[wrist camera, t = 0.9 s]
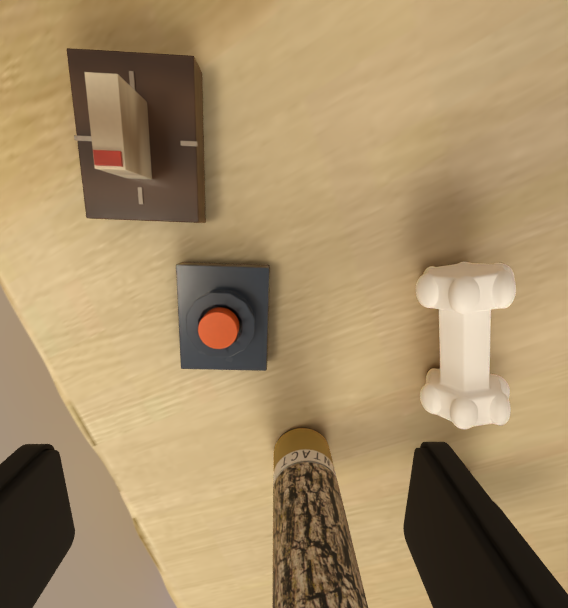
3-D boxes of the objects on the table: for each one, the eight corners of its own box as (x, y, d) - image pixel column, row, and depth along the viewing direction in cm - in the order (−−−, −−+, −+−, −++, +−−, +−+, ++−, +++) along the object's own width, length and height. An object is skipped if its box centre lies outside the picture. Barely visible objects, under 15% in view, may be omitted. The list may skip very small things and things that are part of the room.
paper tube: (323, 473, 39) (402, 879, 15) (270, 469, 39) (262, 878, 15) (333, 427, 37) (438, 800, 13) (277, 422, 37) (282, 796, 13)
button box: (182, 261, 32) (169, 267, 28) (269, 264, 32) (268, 270, 28) (186, 360, 35) (175, 377, 31) (266, 361, 35) (265, 379, 31)
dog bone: (479, 382, 37) (536, 426, 29) (407, 393, 37) (443, 440, 29) (481, 256, 33) (547, 267, 25) (400, 268, 33) (440, 283, 25)
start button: (201, 306, 29) (197, 311, 28) (239, 307, 30) (237, 312, 28) (202, 341, 30) (198, 348, 29) (239, 342, 30) (237, 349, 29)
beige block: (120, 100, 25) (81, 69, 20) (147, 101, 26) (115, 71, 20) (126, 178, 27) (92, 168, 22) (152, 179, 27) (123, 169, 22)
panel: (86, 66, 27) (63, 46, 24) (203, 73, 28) (194, 54, 25) (103, 218, 31) (83, 218, 28) (206, 222, 31) (199, 222, 28)
